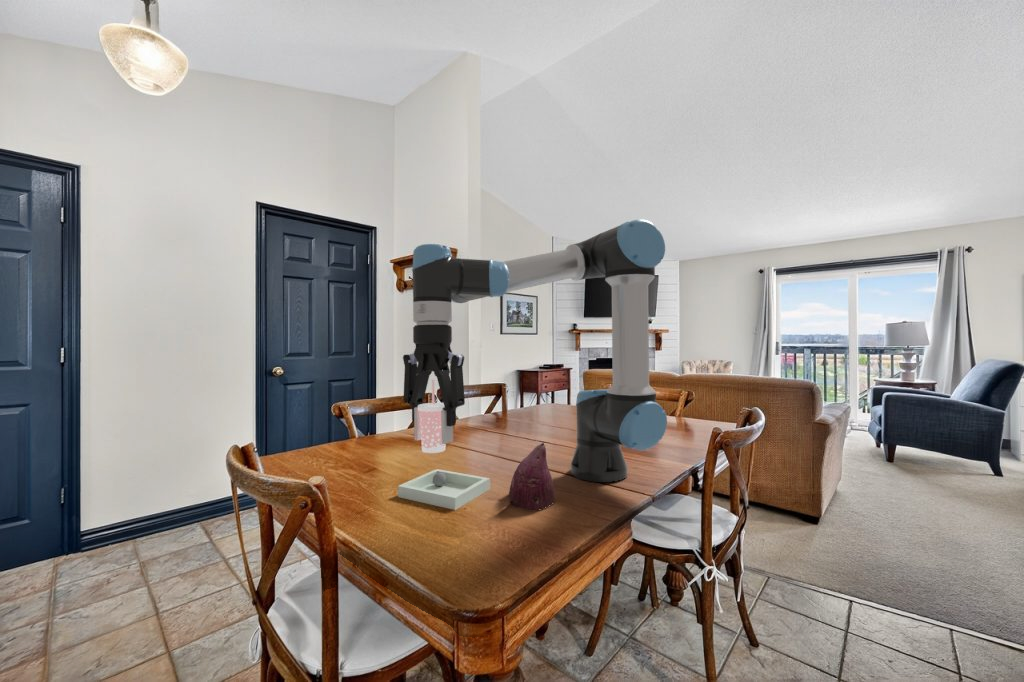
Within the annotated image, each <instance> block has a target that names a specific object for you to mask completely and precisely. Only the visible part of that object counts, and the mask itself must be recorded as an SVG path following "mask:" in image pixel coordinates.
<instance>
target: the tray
mask: <svg viewBox="0 0 1024 682" xmlns="http://www.w3.org/2000/svg"><path fill="white" fill-rule="evenodd" d="M436 473H443V474H444V475H445V477H446V482H445V484H444V485H442V486H436V485H435V484H434V483H433V477H434V475H435V474H436ZM490 489H491V479H490V478H489V477H484V476H480V475H479V476H478V475H473V474H467V473H460V472H455V471H450V470H444V469H440V468H439V469H438V468H436V469H434V470H431V471H429V472H426V473H424V474H422V475H420V476H417V477H415V478H413V479H411V480H409V481H406V482H404V483H402V484H399V485H398V486H397V497H398V498H400V499H405V500H409V501H413V502H418V503H422V504H426V505H431V506H435V507H440V508H444V509H448V510H449V509H450V510H453V511H457V510H458V509H460V508H461V507H463V506H464V505H466V504H468V503H469V502H471V501H473V500H474V499H476V498H477V497H479V496H481V495H483V494H484V493H485V492H487V491H490Z"/></svg>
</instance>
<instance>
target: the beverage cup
mask: <svg viewBox="0 0 1024 682" xmlns="http://www.w3.org/2000/svg"><path fill="white" fill-rule="evenodd" d="M424 403H425V404H420V405H418V410H419V415H420V429H421V440H420V441H421V452H422V453H425V454H437V453H442V452H445V451H446V446H447V445H446V444H442V432H441V410H443V408H444V407H445V406H444V403H443V402H435V379H431V402H427V403H426V402H424Z"/></svg>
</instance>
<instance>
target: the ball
mask: <svg viewBox="0 0 1024 682" xmlns="http://www.w3.org/2000/svg"><path fill="white" fill-rule="evenodd" d="M445 482H446V477H445V475H444V474H443V473H436V474H435V475H434V477H433V483H434V484H435V485H436V486H442V485H444V484H445Z"/></svg>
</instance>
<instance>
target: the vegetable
mask: <svg viewBox="0 0 1024 682" xmlns="http://www.w3.org/2000/svg"><path fill="white" fill-rule="evenodd" d="M547 462H548V461H547V449H546V445H545V442H542V443H540V444H538V445H536V446H535V447H534V448H533V449H532V450H531V452H529V454H527V455H526V456H525V457H524V458H523V459H522V460H521V462H520V463H519V464H518V465H517V467H516V469H515V470H514V473H513V476H512V478H511V482H510V486H509V492H508V498H509V499H510V501H509V503H510V504H511V505H512V506H513V507H515V508H517V507H518V509H521V508H522V509H521V510H525V509H526V511H534V510H535V511H540V510H539V509H542V510H544V509H543V508H545V507H548V506H549V505H551V504H552V503H553V502H554V501H555V490H554V489H555V488H554V482H553V479H552V475H551V472H550V469H549V466H548V463H547ZM554 503H555V502H554ZM554 503H553V504H554ZM551 506H552V505H551ZM549 507H550V506H549ZM549 507H548V508H549ZM545 509H546V508H545Z"/></svg>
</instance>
